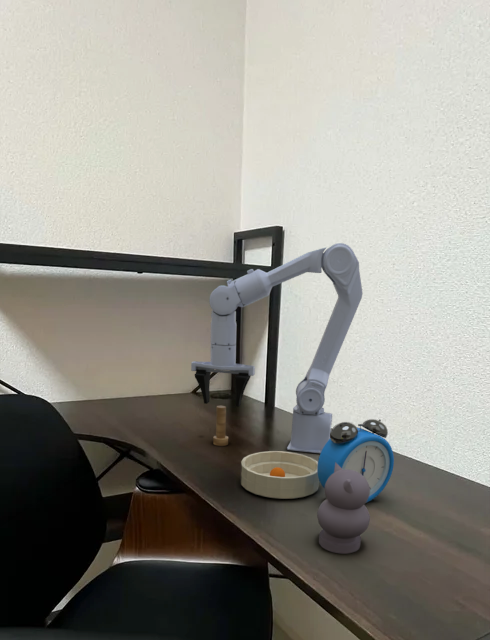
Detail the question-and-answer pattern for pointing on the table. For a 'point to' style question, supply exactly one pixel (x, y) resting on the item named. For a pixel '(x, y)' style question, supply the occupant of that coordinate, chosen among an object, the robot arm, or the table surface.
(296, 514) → the table surface
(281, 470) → the ball
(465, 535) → the table surface
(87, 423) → the table surface
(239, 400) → the robot arm
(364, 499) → the cat figurine
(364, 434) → the alarm clock
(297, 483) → the bowl
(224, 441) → the muddler
